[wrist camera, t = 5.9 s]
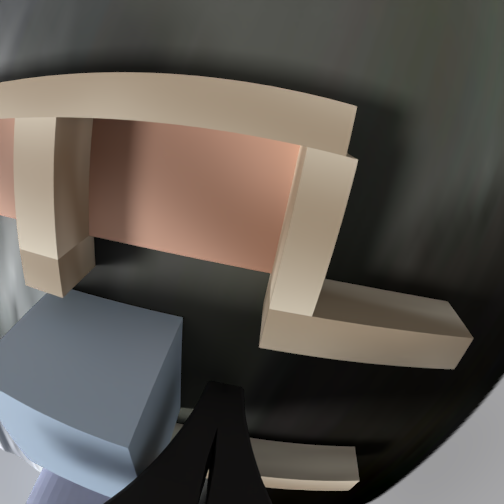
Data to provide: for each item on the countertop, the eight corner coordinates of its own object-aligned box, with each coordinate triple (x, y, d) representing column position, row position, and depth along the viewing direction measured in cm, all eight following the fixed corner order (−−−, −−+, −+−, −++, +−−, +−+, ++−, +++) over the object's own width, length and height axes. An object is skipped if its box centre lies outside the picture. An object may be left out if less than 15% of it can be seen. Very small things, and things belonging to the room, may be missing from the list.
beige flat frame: (345, 457, 13) (350, 507, 10) (-49, 333, 13) (-74, 359, 10) (497, 168, 7) (563, 196, 4) (-87, 108, 7) (-128, 120, 4)
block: (180, 408, 12) (149, 510, 7) (77, 376, 12) (27, 459, 8) (183, 317, 10) (127, 447, 5) (55, 284, 10) (-29, 372, 5)
